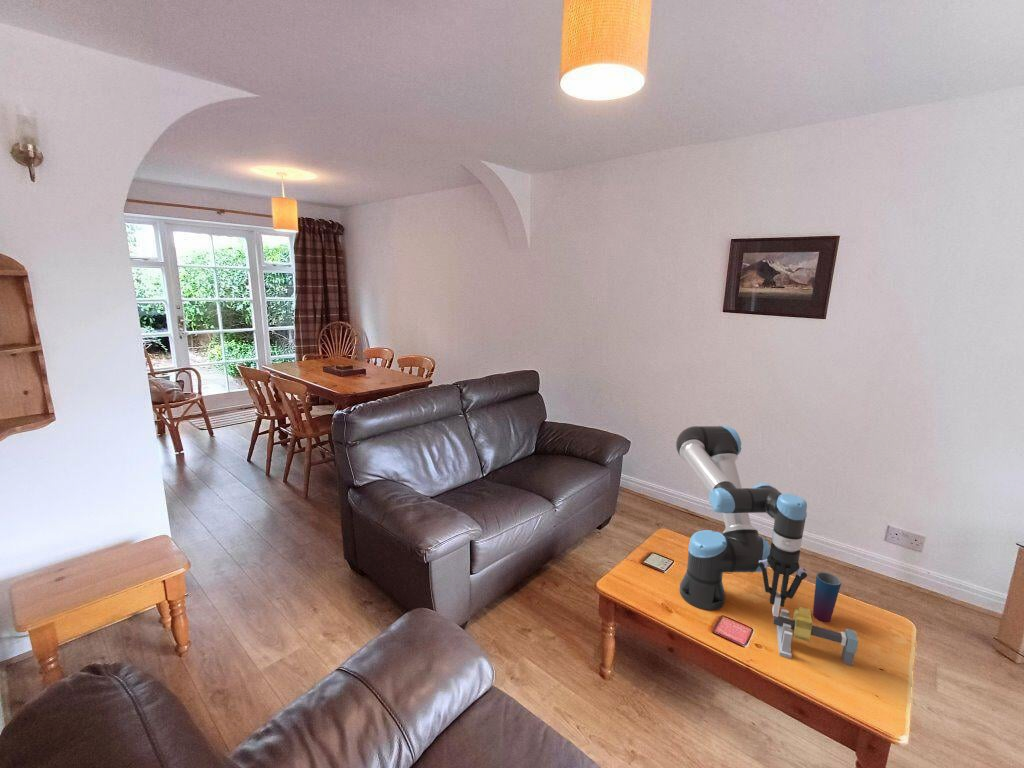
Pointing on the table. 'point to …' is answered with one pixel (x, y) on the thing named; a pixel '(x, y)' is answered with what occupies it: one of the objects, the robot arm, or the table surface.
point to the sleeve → (802, 624)
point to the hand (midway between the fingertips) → (775, 613)
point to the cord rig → (785, 635)
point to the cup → (825, 596)
